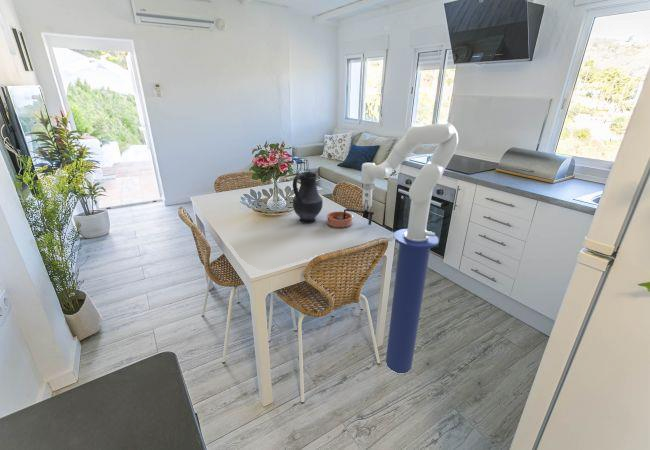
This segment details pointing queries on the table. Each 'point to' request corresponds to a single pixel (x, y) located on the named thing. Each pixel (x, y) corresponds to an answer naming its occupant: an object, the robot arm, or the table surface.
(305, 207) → the pitcher
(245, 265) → the table surface
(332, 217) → the bowl
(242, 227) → the table surface
